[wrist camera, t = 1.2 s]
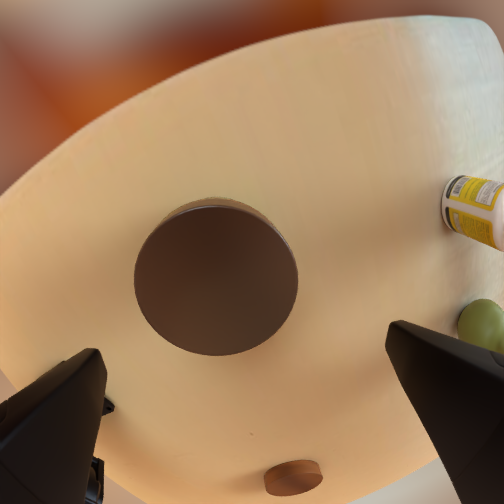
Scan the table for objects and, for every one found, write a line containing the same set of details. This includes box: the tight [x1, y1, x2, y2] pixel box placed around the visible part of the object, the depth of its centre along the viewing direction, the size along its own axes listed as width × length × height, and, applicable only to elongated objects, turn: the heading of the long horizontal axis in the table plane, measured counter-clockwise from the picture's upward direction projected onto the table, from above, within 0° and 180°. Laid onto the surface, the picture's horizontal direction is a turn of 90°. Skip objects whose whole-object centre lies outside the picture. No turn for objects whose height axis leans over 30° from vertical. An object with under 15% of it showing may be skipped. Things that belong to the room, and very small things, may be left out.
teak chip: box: [264, 460, 323, 496], centre depth 28 cm, size 7×7×2 cm
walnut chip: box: [134, 198, 298, 356], centre depth 13 cm, size 7×7×2 cm
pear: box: [457, 299, 504, 354], centre depth 19 cm, size 6×5×10 cm
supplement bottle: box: [442, 175, 504, 252], centre depth 16 cm, size 5×5×8 cm
